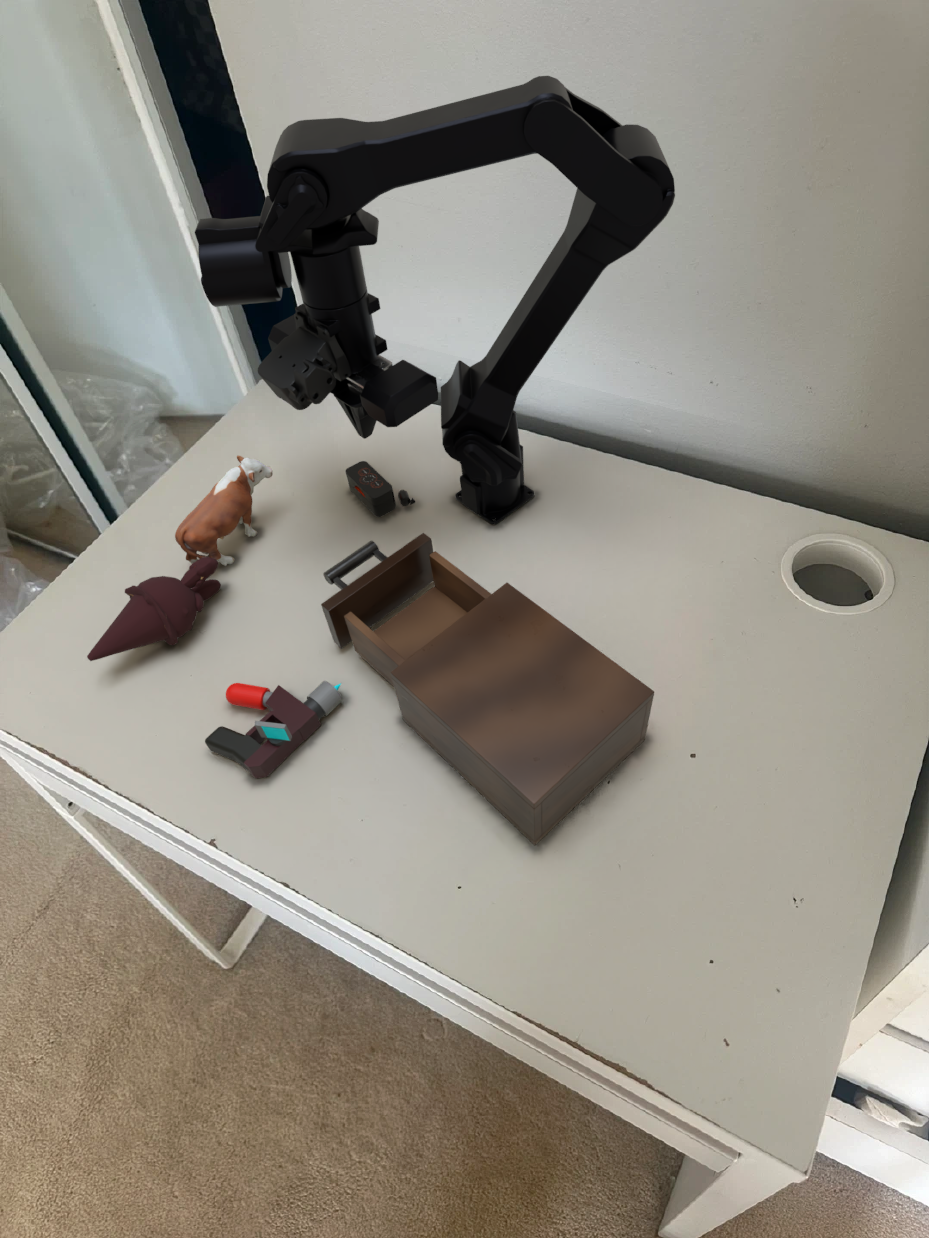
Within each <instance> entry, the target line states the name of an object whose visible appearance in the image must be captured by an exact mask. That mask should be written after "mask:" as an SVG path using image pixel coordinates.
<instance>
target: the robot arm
mask: <svg viewBox="0 0 929 1238" xmlns="http://www.w3.org/2000/svg"><path fill="white" fill-rule="evenodd" d="M656 137H657V136H656V135H655V134H654V133H653V132H652V131H650V130H649V129H648V128H647V127H644V126H643V125H640V124H621V122H619V121H618V120H616V119H615V118H614V117H613V116H611V115H610V114H609V113H607V112H606V111H604V109H602V108H600V107H599V106H597V105H595V104H593V103H591V102H590V101H588V100H586V99H584V98H583V97H580V96H579V95H577V94H575V93H573V92H572V91H571V90H570V89H568V88H567V87H566V86H565V85H564V84H563V83H562V82H561V81H560V80H559V79H558V78H556V77H554V76H551V75H538V76H535V77H533V78H532V79H530V80H529V81H527V82H525V83H523V84H519V85H514V86H511V87H507V88H504V89H500V90H496V91H492V92H488V93H485V94H482V95H481V94H480V95H477V96H473V97H469V98H466V99H465V98H464V99H462V100H457V101H454V102H450V103H446V104H443V105H439V106H435V107H431V108H427V109H424V110H420V111H416V112H412V113H408V114H405V115H400V116H396V117H393V118H389V119H385V120H379V121H377V120H376V121H365V120H364V121H363V120H357V119H352V118H345V117H333V118H313V119H301V120H298V121H295V122H293V123H291V124H289V125H287V126H286V127H285V128H284V129H283V131H282V132H281V134H280V135H279V138H278V140H277V143H276V145H275V148H274V152H273V155H272V158H271V162H270V165H269V167H268V171H267V178H266V179H267V180H266V188H267V193H268V195H266V196H265V199H264V204H263V206H262V209H261V213H260V215H256V216H246V217H244V216H243V217H235V218H218V217H217V218H216V217H208V218H207V217H206V218H200V219H199V220H198V221H197V222H198V223H197V225H196V227H195V230H194V235H195V238H196V241H197V244H198V248H197V249H198V250H197V251H198V263H199V269H200V273H201V276H200V283H201V286H202V290H203V292H204V294H205V296H206V299H207V300H208V302H209V303H210V305H211V306H213V307H214V308H217V307H229V306H241V305H249V304H252V305H253V304H262V303H264V304H265V303H276V302H280V301H281V300H282V298H283V289H289V288H291V286H292V283H293V280H292V279H293V278H292V277H293V275H292V265H293V268H294V272H295V277H296V281H297V284H298V289H299V292H300V297H301V300H302V303H301V304H299V305H298V306H296V307H294V310H295V313H294V314H293V315H290V316H289V317H287V318H285V319H283V320H281V321H279V322H278V323H276V324H274V325H272V327H271V330H270V333H269V335H268V338H267V340H268V343H269V346H270V349H271V351H270V352H269V354H267V356H265V358H264V359H263V360H262V361H261V362H260V363H259V365H258V367H257V374H258V375H259V377H260V378H261V379H262V380H263V381H264V382H265V383H266V385H267V386H268V387H269V389H271V391H272V392H273V394H274V395H275V396H276V397H277V398H279V399H281V400H283V401H284V402H285V403H287V404H288V405H290V406H291V407H292V408H293V409H295V410H297V411H304V410H306V409H308V408H309V407H310V406H311V405H312V404H314V405H319V404H321V403H322V402H323V401H324V400H325V399H326V398H327V397H328V396H329V395H330V394H332V395H333V397H334V398H335V399H336V401H337V402H338V404H339V406H340V407H341V409H342V410H343V412H344V413H345V415H346V417H347V418H348V420H349V421H350V423H351V425H352V427H353V428H354V430H355V431H356V433H357V434H358V436H360V437H361V438H362V439H364V440H365V439H367V438H369V437H371V436H372V434H373V432H374V430H375V426H376V424H377V422H378V423H380V424H381V425H383V426H384V427H385V428H397V427H399V426H400V425H402V424H403V423H404V422H405V423H406V421H408V420H410V419H411V418H413V417H414V416H416V415H418V414H419V413H420V412H422V411H423V410H424V409H426V408H428V407H429V406H431V405H432V404H435V402H437V401H438V400H439V390H438V389H439V388H438V382H437V377H436V376H434V375H433V374H431V373H429V372H427V371H426V370H424V369H422V368H420V367H419V366H417V365H415V364H413V363H411V362H409V361H407V360H405V359H401V360H399V361H398V362H396V363H395V364H394V363H393V361H391V360H389V359H388V358H386V357H384V356H382V355H381V354H383V353H385V352H386V351H388V350H389V349H388V344H387V340H386V339H385V338H383V337H381V336H380V335H378V334H376V329H375V325H374V319H373V314H375V313H376V312H378V311H380V310H381V304H380V299H379V297H376V296H375V295H373V294H371V293H369V292H368V286H367V283H366V281H367V280H366V276H365V271H364V266H363V265H364V264H363V261H362V255H361V249H360V247H365V246H366V247H367V246H375V245H376V244H377V243H378V236H379V225H380V221H379V218H378V217H377V216H375V215H373V214H372V213H370V212H369V211H367V210H364V207H366V206H367V205H369V204H370V203H371V202H373V201H374V200H376V199H377V198H378V197H379V196H382V195H383V194H386V193H388V192H390V191H392V190H394V189H399V188H401V187H405V186H409V185H414V184H418V183H422V182H425V181H429V180H433V179H438V178H442V177H445V176H450V175H454V174H457V173H462V172H467V171H469V170H474V169H479V168H483V167H487V166H490V165H494V164H498V163H502V162H507V161H511V160H514V159H518V158H522V157H526V156H531V155H535V154H536V155H539V156H540V157H542V158H543V159H545V160H546V161H548V162H549V163H550V164H552V166H554V167H555V168H556V169H557V170H558V171H559V172H560V173H561V174H562V175H563V176H564V177H565V178H566V179H567V180H568V181H569V182H571V184H572V185H573V186H574V187H576V191H575V195H574V199H573V201H572V206H571V209H570V213H569V216H568V220H567V223H566V225H565V228H564V231H563V232H562V234H561V236H560V237H559V238H558V240H557V242H556V244H555V245H554V247H553V249H552V250H551V251H550V253H549V254H548V256H547V257H546V259H545V260H544V262H543V264H542V266H541V267H540V269H539V270H538V272H537V274H536V276H535V277H534V279H533V280H532V281H531V283H530V285H529V286H528V288H527V290H526V291H525V293H524V295H523V296H522V298H521V299H520V301H519V302H518V303H517V306H516V307H515V309H514V310H513V312H512V314H511V315H510V316H509V318H508V320H507V322H506V323H505V325H504V326H503V328H502V330H501V331H500V333H499V334H498V336H497V338H496V339H495V340H494V342H493V344H492V345H491V347H490V348H489V350H488V352H487V353H486V354H485V356H484V357H483V358H482V359H481V360H480V361H478V362H476V363H474V364H472V365H471V366H470V365H468V364H467V363H465V362H463V361H462V360H457V362H456V364H455V366H454V369H453V372H452V374H451V377H449V379H448V380H447V381H446V382H445V383H443V385H441V386H440V429H441V437H442V438H441V439H442V441H441V443H442V444H441V445H442V446H443V449H444V451H445V453H446V454H447V455H448V456H449V457H450V458H451V459H453V460H454V461H457V462H459V464H460V466H461V467H460V468H461V475H459V485H460V490H459V491H457V492H456V493H455V496H454V497H455V500H456V501H458V502H459V503H461V504H462V505H463V506H464V507H465V508H467V509H468V510H470V511H471V512H473V514H475V515H477V516H479V517H481V518H482V519H483V520H484V521H486V522H488V523H489V524H491V525H498V524H499V523H500V522H502V521H503V520H504V519H506V518H507V517H508V516H510V515H511V514H513V513H514V512H516V511H517V510H518V509H519V508H521V507H522V506H523V505H525V504H527V503H528V502H530V501H531V500H532V499H533V498H534V497H535V491H534V490H533V489H532V488H530V487H528V486H527V485H525V470H524V469H525V466H524V446H523V445H522V444H521V442H520V435H519V426H518V416H517V414H518V413H517V411H515V410H514V409H515V405H516V402H517V399H518V396H519V394H520V391H521V390H522V389H523V387H524V386H525V384H526V383H527V381H528V380H529V378H530V377H531V376H532V374H533V373H534V372H535V370H536V368H537V367H538V366H539V364H540V363H541V361H542V360H543V358H544V357H545V356H546V354H547V353H548V351H549V350H550V348H552V345H553V344H554V342H555V341H556V339H557V338H558V337H559V335H560V334H561V333H562V331H563V330H564V328H565V326H566V325H567V323H568V322H569V321H570V319H571V318H572V317H573V315H574V314H575V312H576V311H577V309H578V308H579V307H580V305H581V303H582V302H583V301H584V299H585V298H586V296H587V295H588V293H589V292H590V290H591V289H592V288H593V286H594V285H595V283H596V282H597V280H598V279H599V277H600V276H601V275H602V274H603V272H604V271H605V269H607V267H608V266H609V265H612V264H613V263H615V262H616V261H618V260H619V259H622V258H623V257H624V256H626V255H629V254H630V253H632V252H633V251H635V250H636V249H637V248H638V247H639V246H640V245H641V244H642V243H643V242H644V241H645V239H647V238H648V237H649V236H650V234H651V233H653V231H654V230H655V229H656V228H657V227H658V226H659V225H660V224H661V223H662V222H663V221H664V219H666V217H667V216H668V214H669V212H670V210H671V208H672V207H673V205H674V202H675V199H676V193H675V192H676V189H675V178H674V175H673V173H672V171H671V168H670V166H669V164H668V162H667V160H666V157H665V155H664V153H663V151H662V148H661V146H660V143H659V142H658V139H657V138H656ZM289 253H290V254H289ZM290 257H291V259H290ZM291 261H292V265H291Z"/></svg>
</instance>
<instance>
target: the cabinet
mask: <svg viewBox="0 0 929 1238" xmlns="http://www.w3.org/2000/svg"><path fill="white" fill-rule="evenodd" d="M390 673H391V677H392V681H393V684H394V686H393V689H394V692H395V696H396V699H397V704H398V706H399V710H400V714H401V716H402V720H403V721H404V722H405V723H406V724H407V725H408V726H409V727H410V728H411V729H412V730H413V731H414V732H415V733H416V734H417V735H419V736H420V738H422V740H424V741H425V742H426V743H427V744H428V745H429V746H430V747H431V748H432V749H433V750H434V751H435V752H437V754H439V756H441V757H442V758H443V759H444V761H445V762H447V763H448V764H449V765H450V766H451V767H452V768H453V769H454V770H455V771H456V772H457V773H458V774H459V775H461V776H462V777H463V779H464V780H466V782H468V783H469V785H471V786H472V787H473V788H474V789H475V790H476V791H477V792H478V793H479V794H480V795H481V796H483V798H484V799H485V800H486V801H487V802H489V803H490V804H491V805H492V806H493V807H494V808H495V809H496V810H497V811H498V812H499V813H500V814H501V815H502V816H504V818H506V820H508V822H509V823H511V825H513V827H515V828H516V829H517V830H518V831H519V832H520V833H521V834H522V835H524V836H525V837H526V838H527V840H529V842H531V843H532V844H533V845H534V846H536V845H538V843H539V842H540V841H542V839H544V837H545V836H546V835H547V834H549V833H550V832H551V831H552V830H553V829H554V828H555V827H556V826H557V825H558V824H559V823H560V822H561V821H562V820H563V819H564V818H565V817H566V816H567V815H568V814H569V813H570V812H572V811H573V810H574V809H575V808H576V807H577V805H579V804H580V803H581V802H582V801H583V800H584V799H585V798H586V797H587V796H588V795H589V794H590V793H591V792H592V791H593V790H594V789H595V788H596V787H598V786H599V785H600V783H601V782H603V781H604V780H605V778H607V777H608V776H609V775H610V774H611V773H612V772H613V771H614V770H615V769H616V768H617V767H618V766H619V765H620V764H621V763H622V762H623V761H624V760H626V759H627V757H628V756H630V755H631V754H632V753H633V752H634V751H635V750H636V749H638V747H639V746H640V745H641V744H642V743H643V742H644V741H645V740H646V737H647V736H646V735H647V730H648V725H649V721H650V717H651V710H652V707H653V702H654V696H655V691H654V690H653V689H652V688H650V687H649V686H648V685H646V684H645V683H644V682H642V681H641V680H639V679H638V678H637V677H636V676H634V675H633V674H631V672H629V671H628V670H626V669H625V668H624V667H622V666H621V665H620V664H618V663H616V662H615V661H614V660H612V658H610V657H609V656H608V655H606V654H604V653H603V652H601V650H599V649H598V648H596V647H595V646H594V645H592V644H591V643H590V642H589V641H587V640H586V639H584V638H583V637H581V636H580V635H579V634H578V633H576V632H575V631H574V630H572V629H571V628H569V627H568V626H567V625H566V624H564V623H563V622H561V621H560V620H559V619H557V618H556V617H555V616H553V615H552V614H551V613H549V612H548V611H547V610H546V609H544V608H543V607H542V606H540V605H538V604H537V602H534V601H533V600H531V598H529V597H528V596H526V595H525V594H523V593H522V592H521V591H520V590H518V589H517V588H516V587H514V586H512V584H510V583H509V582H505V583H503V584H502V585H501V586H500V587H499V588H498V589H496V590H495V591H493V592H492V593H491V595H490V596H489V597H487V598H486V599H485V600H483V601H482V602H481V603H479V604H478V605H477V606H476V607H474V608H473V609H472V610H470V611H469V612H468V613H466V614H465V615H464V616H463V617H461V618H460V619H459V620H457V621H456V622H455V623H454V624H452V625H451V626H450V627H448V628H447V629H446V630H444V631H443V632H442V633H441V634H439V635H438V636H437V637H435V638H434V639H433V640H431V641H430V642H429V643H428V644H426V645H425V646H424V647H422V648H421V649H420V650H418V651H417V652H416V653H415V654H413V655H412V656H411V657H409V658H408V659H407V660H406V661H404V662H403V663H402V664H400V665H399V666H398V667H396V668H395V669H394V670H393V671H391V672H390Z"/></svg>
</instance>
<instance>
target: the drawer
mask: <svg viewBox="0 0 929 1238" xmlns="http://www.w3.org/2000/svg"><path fill="white" fill-rule="evenodd" d="M373 557H375V558H376V559H377V560H378V561H379V562H378V563H377V564H376V565H375V566H374V567H372V568H371V569H369V570H368V571H366V572H365V573H364V574H361V576H359V577H357V578H356V579H354V580H353V581H352V582H350V583H349V584H347V583H346V582H345V581H344V580H342V578H344V577H345V576H347V575H348V574H349V573H351V572H353V571H354V570H356V569H357V568H359V567H360V566H361V565H363V564H364V563H366V562H367V561H369V560H370V559H371V558H373ZM323 577H324V580H325V581H326V582H327V583H328V584H329V585H335V586H336V587H338V588H339V591H337V592H336V593H335V594H333V595H332V596H331V597H329V598H328V599H326V600H324V601H323V602H322V603H321V604H320V606H321V608H322V611H323V615H324V618H325V620H326V623H327V626H328V629H329V632H330V634H331V637H332V641H333V643H334V644H335V645H336V646H338V647H339V649H343V648H345V647H346V646H347V645H349V644H350V643H352V646H353V648H354V651H355V652H356V653H357V654H358V655H359V656H360V657H361V658H362V659H364V660H365V662H367V664H369V665H370V666H371V667H372V668H373V669H374V670H375V671H376V672H377V673H378V674H379V675H381V677H383V678H384V679H385V680H386V681H387V682H388V683H389V684H390V685H391V686H393V687H394V684H393V681H392V677H391V673H390V672H391V671H393V670H394V669H395V668H396V667H398V666H399V665H400V664H402V663H403V662H404V661H406V660H407V659H408V658H409V657H411V656H412V655H413V654H415V653H416V652H417V651H418V650H420V649H421V648H422V647H424V646H425V645H426V644H428V643H429V642H430V641H431V640H433V639H434V638H435V637H437V636H438V635H439V634H441V633H442V632H443V631H444V630H446V629H447V628H448V627H450V626H451V625H452V624H454V623H455V622H456V621H457V620H459V619H460V618H461V617H463V616H464V615H465V614H466V613H468V612H469V611H470V610H472V609H473V608H474V607H476V606H477V605H478V604H479V603H481V602H482V601H483V600H485V599H486V598H487V597H489V596H490V595H491V594H492V593H491V592H490V591H489V590H487V589H486V588H484V587H483V586H482V585H481V584H479V583H478V582H477V581H475V580H474V579H473V578H471V577H470V576H469V575H467V574H466V573H465V572H463V571H462V570H461V569H460V568H458V567H457V566H455V565H454V564H453V563H452V562H451V561H449V560H448V559H447V558H445V556H442V555H441V553H439V552H437V551H436V550H434V547H433V540H432V538H431V536H429V535H427V534H426V533H425V532H422V533H421V534H419V535H418V536H416V537H415V538H414V539H412V540H411V541H409V542H408V543H406V544H405V545H403V546H402V547H400V548H399V549H398V550H396V551H395V552H394V553H392V554H390V555H389V556H387V555H386V554H385V553H383V552H382V551H380V548H379V546H378V545H377V543H376V542H375V541H374V540H370V541H368V542H367V543H365V544H364V545H362V546H361V547H360V548H357V550H355V551H354V552H351V554H349V555H347V556H346V557H345V558H343V559H342V560H341V561H338V562H337V563H336V564H334V565H333V566H331V567H330V568H328V569H327V570H326V571H324V572H323ZM432 583H433V586H432V587H431V588H430V589H428V590H427V591H425V592H424V593H423V594H421V595H420V596H419V597H418V598H416V599H415V600H413V601H412V602H411V603H409V604H408V605H406V606H405V607H404V608H403V609H402V610H400V611H399V612H397V613H396V614H395V615H393V616H392V617H390V618H389V619H388V620H386V621H385V622H384V623H382V624H381V625H380V626H378V627H377V628H376V629H374V630H372V629H371V628H372V627H373V626H374V625H376V624H377V623H379V622H380V621H381V620H383V619H384V618H385V617H387V616H388V615H389V614H391V613H392V612H393V611H395V610H396V609H398V608H400V606H402V605H403V604H404V603H407V602H408V601H409V600H410V599H412V597H414V596H415V595H416V594H419V592H421V591H423V589H425V588H426V587H428V586H429V585H431V584H432Z"/></svg>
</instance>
